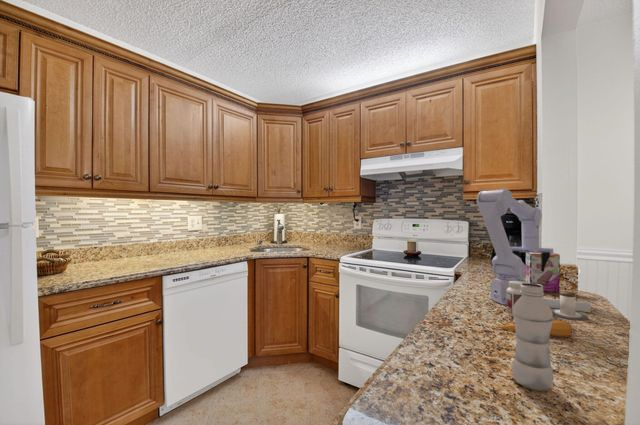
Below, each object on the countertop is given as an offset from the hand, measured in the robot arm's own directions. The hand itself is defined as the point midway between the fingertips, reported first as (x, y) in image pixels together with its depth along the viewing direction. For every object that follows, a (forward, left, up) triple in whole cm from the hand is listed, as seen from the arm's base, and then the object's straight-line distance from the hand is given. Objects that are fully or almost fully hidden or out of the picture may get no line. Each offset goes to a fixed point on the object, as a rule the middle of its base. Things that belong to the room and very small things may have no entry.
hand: (530, 270), depth 119 cm
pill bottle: (-22, -20, -11) cm, 32 cm away
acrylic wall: (-2, -16, -10) cm, 19 cm away
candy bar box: (+11, +7, -11) cm, 17 cm away
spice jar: (-6, -22, -10) cm, 24 cm away
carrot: (-29, -33, -11) cm, 45 cm away
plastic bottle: (-49, -57, -11) cm, 76 cm away
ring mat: (-6, -22, -10) cm, 25 cm away
